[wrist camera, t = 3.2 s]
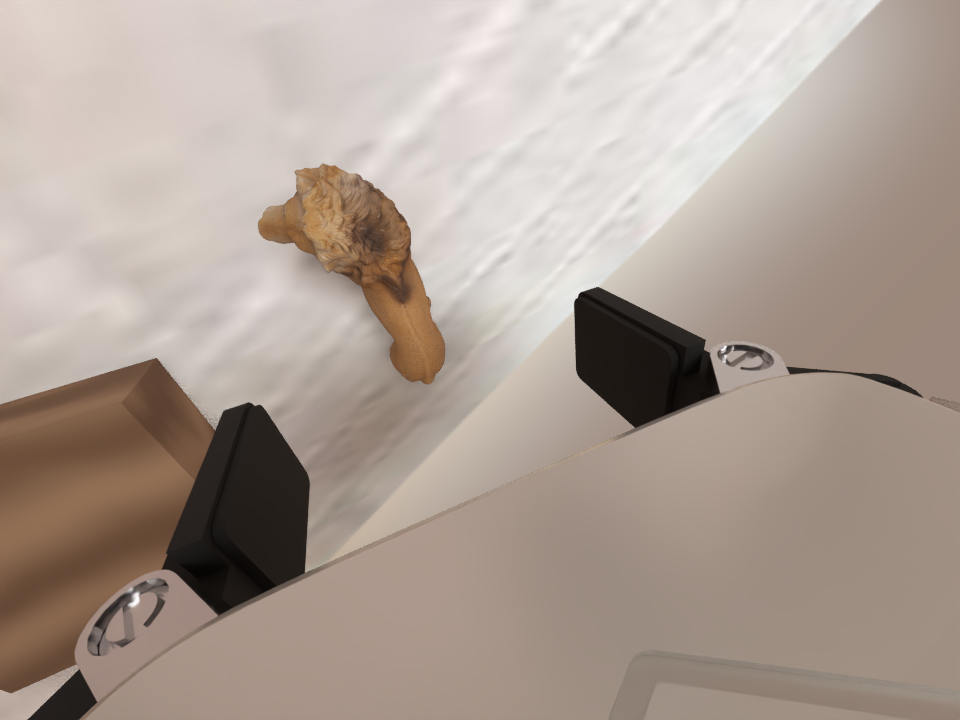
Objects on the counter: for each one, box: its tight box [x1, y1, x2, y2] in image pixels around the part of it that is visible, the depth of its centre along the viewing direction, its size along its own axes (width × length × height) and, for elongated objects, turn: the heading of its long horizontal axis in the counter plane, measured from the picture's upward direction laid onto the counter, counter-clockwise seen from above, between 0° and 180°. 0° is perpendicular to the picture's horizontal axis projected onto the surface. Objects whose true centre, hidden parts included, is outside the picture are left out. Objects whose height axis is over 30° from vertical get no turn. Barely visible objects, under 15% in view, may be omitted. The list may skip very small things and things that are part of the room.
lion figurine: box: [258, 164, 445, 384], centre depth 19 cm, size 15×5×9 cm, turn 27°
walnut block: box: [0, 358, 215, 693], centre depth 21 cm, size 16×16×5 cm
